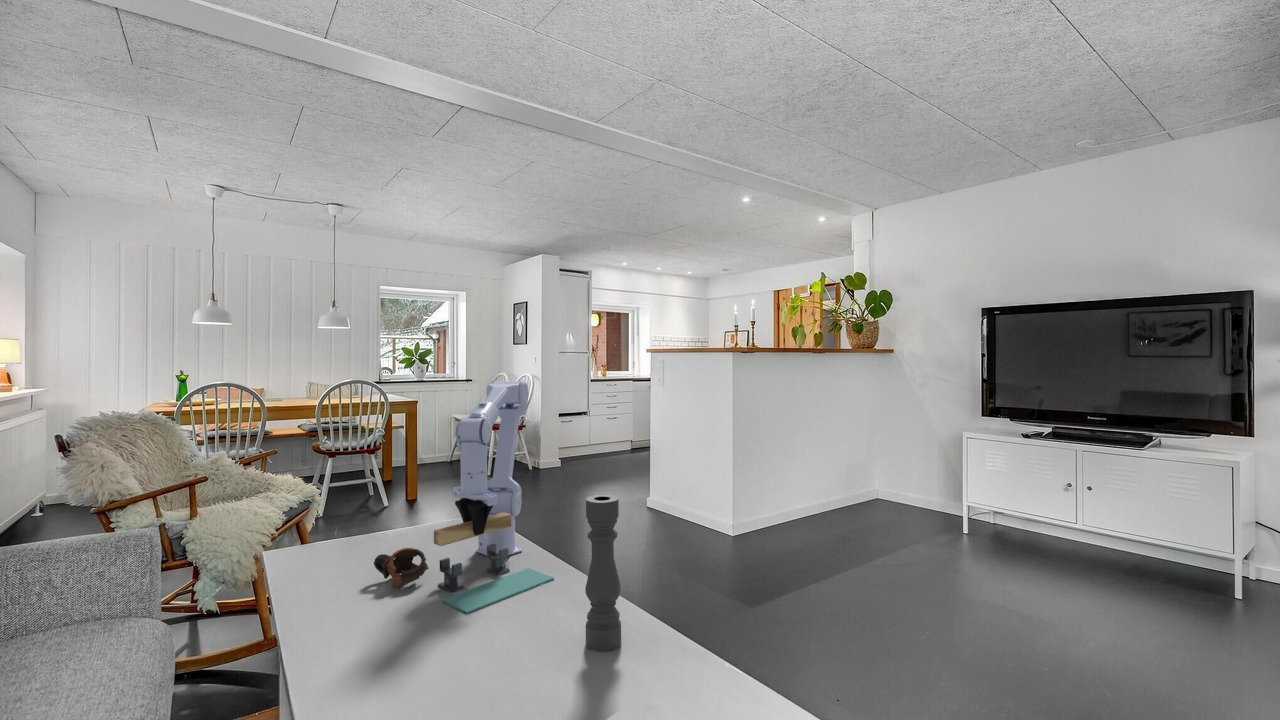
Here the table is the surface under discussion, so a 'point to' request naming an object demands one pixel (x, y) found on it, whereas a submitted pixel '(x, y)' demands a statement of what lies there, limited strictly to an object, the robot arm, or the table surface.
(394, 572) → the pottery mug
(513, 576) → the teal mat
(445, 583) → the hook standards
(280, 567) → the table surface
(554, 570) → the table surface
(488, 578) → the table surface
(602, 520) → the candle holder
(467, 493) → the robot arm
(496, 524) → the oak bar
